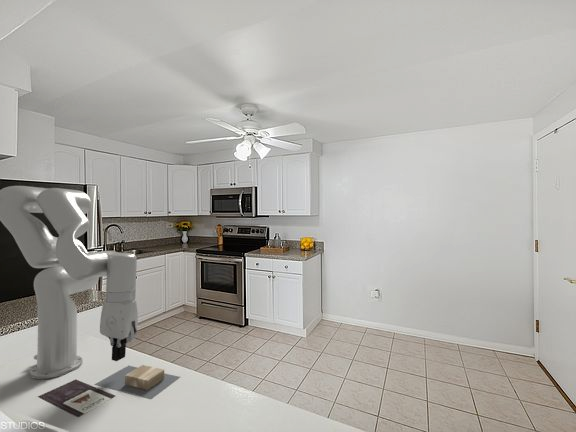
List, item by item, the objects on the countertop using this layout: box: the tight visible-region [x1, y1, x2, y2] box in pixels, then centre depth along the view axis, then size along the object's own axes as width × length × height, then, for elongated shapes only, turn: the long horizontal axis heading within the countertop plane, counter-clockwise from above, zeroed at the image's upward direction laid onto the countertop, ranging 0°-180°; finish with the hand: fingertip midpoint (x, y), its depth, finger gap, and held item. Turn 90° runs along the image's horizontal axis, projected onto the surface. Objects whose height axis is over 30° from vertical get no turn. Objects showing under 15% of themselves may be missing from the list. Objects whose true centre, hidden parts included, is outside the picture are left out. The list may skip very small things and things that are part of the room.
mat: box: [94, 364, 181, 400], centre depth 82 cm, size 20×11×1 cm, turn 71°
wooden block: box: [125, 364, 165, 390], centre depth 81 cm, size 3×6×8 cm
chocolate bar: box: [37, 379, 116, 418], centre depth 74 cm, size 9×1×18 cm
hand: (118, 358), depth 84 cm, fingers closed
